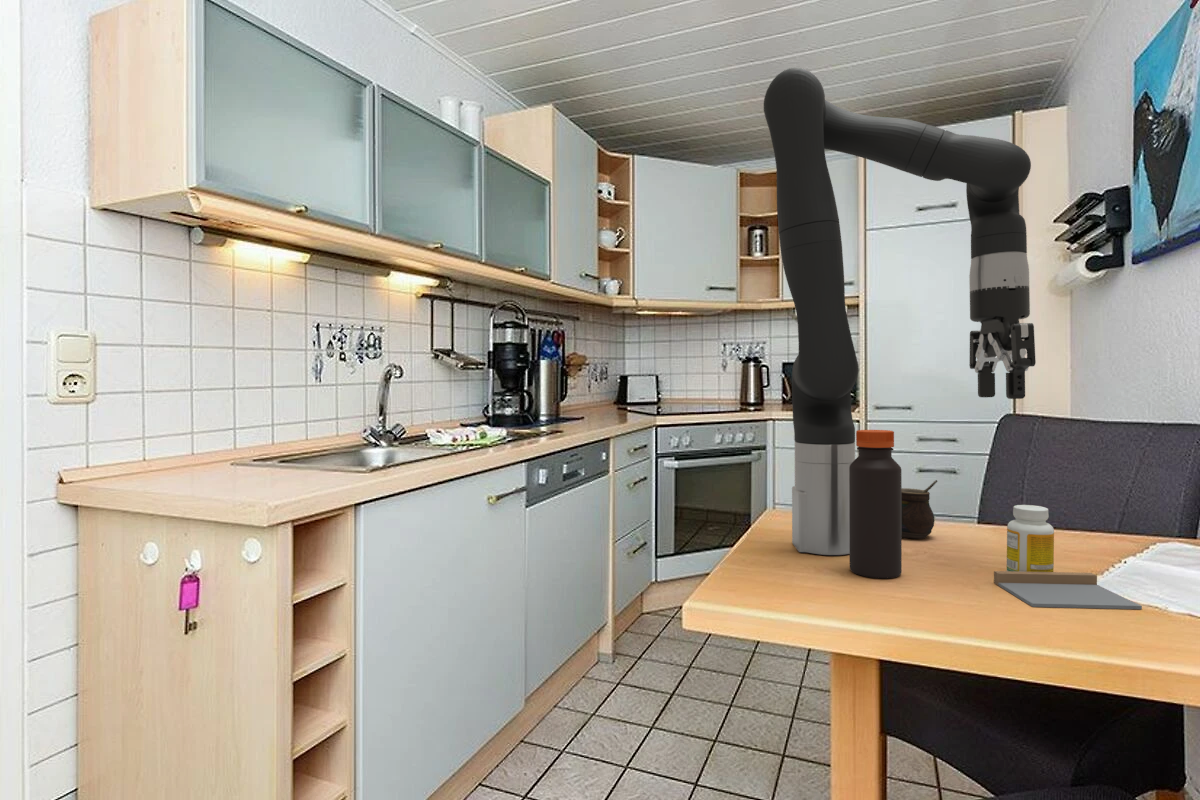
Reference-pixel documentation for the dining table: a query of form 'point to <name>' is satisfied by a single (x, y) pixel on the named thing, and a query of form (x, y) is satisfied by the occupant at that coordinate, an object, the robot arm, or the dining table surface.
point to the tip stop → (1060, 590)
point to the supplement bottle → (1030, 540)
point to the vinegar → (875, 507)
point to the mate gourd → (916, 513)
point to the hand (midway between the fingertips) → (1000, 398)
